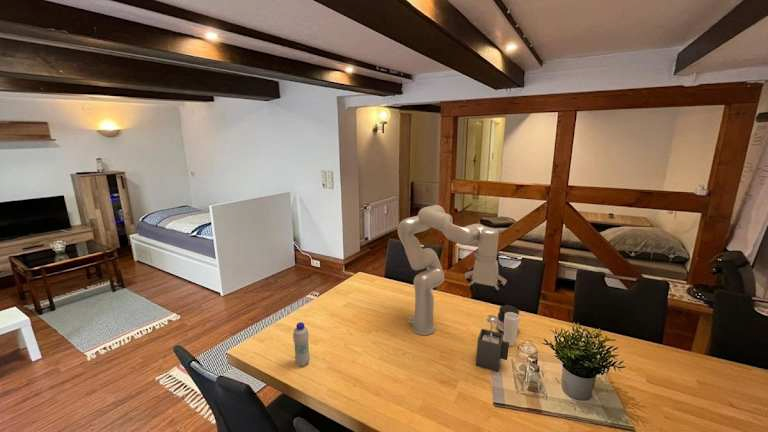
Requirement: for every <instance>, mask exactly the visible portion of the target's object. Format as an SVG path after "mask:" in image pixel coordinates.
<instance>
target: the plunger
mask: <svg viewBox="0 0 768 432" xmlns="http://www.w3.org/2000/svg"><path fill="white" fill-rule="evenodd" d="M486 321H487V322H488V323H490V329H489V330H490V335H486V334H484V335H483V338H482V340H484V341H488V342H492V343H496V344H499V340H500V338H499V337H495V336H492V332H493V331H494V324H497V322H498V316H497V315H494V314H488V315H487V316H486Z"/></svg>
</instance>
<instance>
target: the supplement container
mask: <svg viewBox="0 0 768 432" xmlns="http://www.w3.org/2000/svg"><path fill="white" fill-rule="evenodd" d="M498 310H499V311H498V313H497V317H498V322H497V323H496V324H497V325H496V329H497V331H499V332H498V333H502V334H504V316H505V313H507V312H513V313H516V314H518V315H519V320H520V319H521V317H520V310H519V309H518V308H517V307H515V306H513V305H507V304H505V305H501V306H500V307H499V308H498ZM518 332H519V330H518V331H517V334H518Z"/></svg>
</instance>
